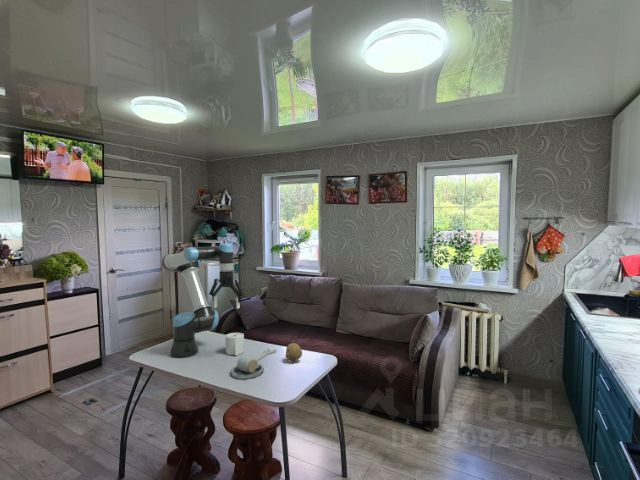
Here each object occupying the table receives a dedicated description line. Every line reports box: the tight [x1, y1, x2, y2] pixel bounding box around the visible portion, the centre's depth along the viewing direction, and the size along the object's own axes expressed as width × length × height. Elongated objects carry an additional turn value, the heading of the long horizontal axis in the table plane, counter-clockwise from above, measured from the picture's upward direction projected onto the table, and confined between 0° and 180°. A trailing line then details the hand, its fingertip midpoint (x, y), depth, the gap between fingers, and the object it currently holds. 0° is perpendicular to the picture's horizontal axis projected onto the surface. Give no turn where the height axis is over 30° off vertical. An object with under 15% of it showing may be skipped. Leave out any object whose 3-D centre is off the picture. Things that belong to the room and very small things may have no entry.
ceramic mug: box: [236, 354, 259, 373], centre depth 172 cm, size 11×8×8 cm
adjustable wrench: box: [254, 348, 277, 363], centre depth 192 cm, size 25×6×2 cm, turn 151°
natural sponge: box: [285, 342, 303, 362], centre depth 186 cm, size 9×9×10 cm
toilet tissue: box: [225, 332, 245, 357], centre depth 200 cm, size 11×12×10 cm
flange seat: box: [230, 362, 265, 380], centre depth 171 cm, size 16×16×2 cm
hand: (226, 307), depth 191 cm, fingers open, 13 cm apart
